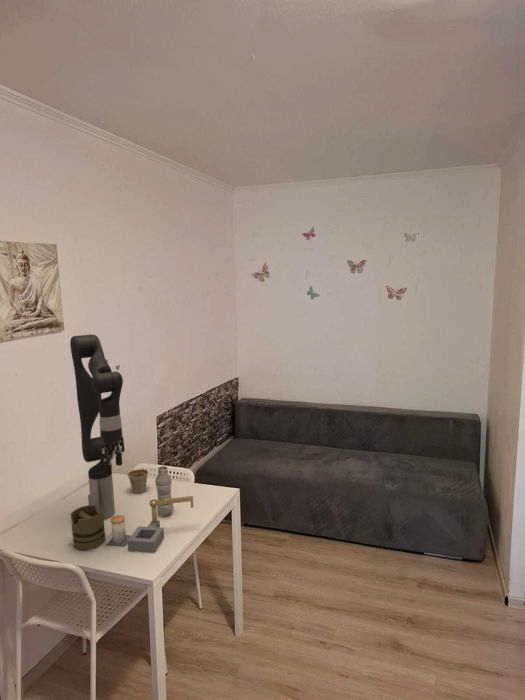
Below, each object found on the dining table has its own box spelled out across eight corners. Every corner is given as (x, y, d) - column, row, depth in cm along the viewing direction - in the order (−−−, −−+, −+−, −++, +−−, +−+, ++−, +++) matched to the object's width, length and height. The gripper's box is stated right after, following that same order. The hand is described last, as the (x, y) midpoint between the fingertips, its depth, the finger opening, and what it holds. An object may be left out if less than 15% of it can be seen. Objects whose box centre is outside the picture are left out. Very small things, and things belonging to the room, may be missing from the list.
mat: (106, 545, 179) (106, 544, 178) (115, 535, 185) (114, 534, 185) (124, 546, 177) (124, 545, 177) (132, 536, 184) (132, 535, 184)
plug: (123, 544, 178) (121, 522, 177) (109, 543, 179) (107, 521, 178) (128, 536, 183) (127, 515, 182) (115, 535, 184) (114, 514, 183)
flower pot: (146, 495, 219) (145, 477, 218) (126, 495, 219) (124, 477, 218) (151, 486, 229) (150, 468, 227) (131, 486, 229) (130, 469, 227)
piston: (93, 502, 187) (108, 511, 180) (96, 531, 189) (111, 541, 181) (65, 513, 179) (79, 523, 171) (68, 543, 181) (82, 554, 173)
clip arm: (193, 508, 188) (193, 498, 187) (150, 513, 185) (149, 503, 184) (193, 504, 191) (192, 495, 190) (150, 509, 187) (149, 499, 187)
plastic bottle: (170, 518, 198) (167, 471, 195) (154, 517, 199) (151, 470, 196) (176, 510, 204) (173, 465, 201) (161, 509, 205) (158, 464, 202)
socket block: (128, 550, 175) (125, 523, 173) (144, 529, 189) (142, 503, 188) (154, 552, 173) (152, 524, 171) (168, 530, 188) (167, 505, 186)
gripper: (111, 433, 167) (115, 478, 170) (128, 421, 181) (131, 462, 184) (91, 432, 168) (95, 477, 171) (110, 420, 182) (113, 461, 185)
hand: (114, 469), depth 177 cm, fingers open, 8 cm apart
